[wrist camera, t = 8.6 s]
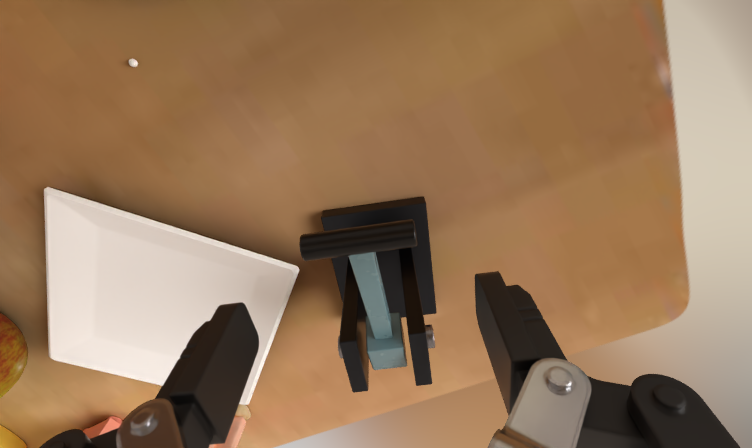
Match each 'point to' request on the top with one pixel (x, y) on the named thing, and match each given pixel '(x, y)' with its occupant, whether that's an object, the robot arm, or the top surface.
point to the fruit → (11, 354)
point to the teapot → (10, 439)
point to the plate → (147, 289)
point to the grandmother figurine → (235, 428)
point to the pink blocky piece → (103, 427)
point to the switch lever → (369, 280)
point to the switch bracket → (387, 287)
